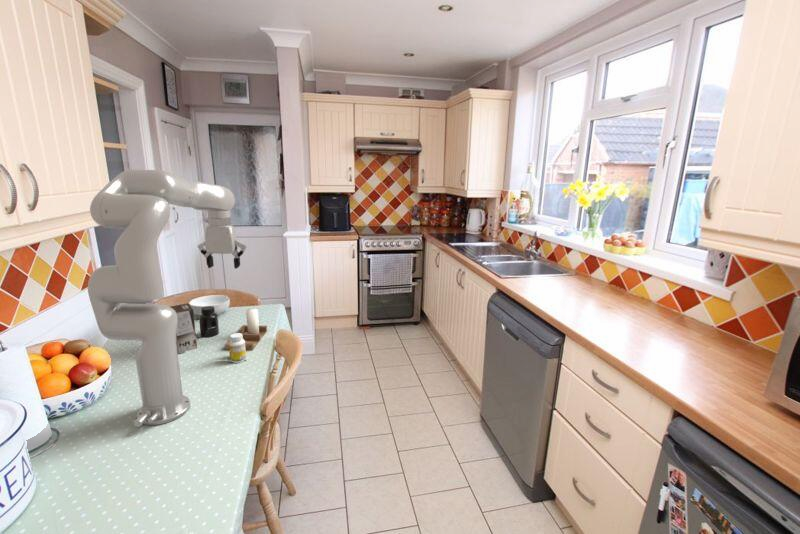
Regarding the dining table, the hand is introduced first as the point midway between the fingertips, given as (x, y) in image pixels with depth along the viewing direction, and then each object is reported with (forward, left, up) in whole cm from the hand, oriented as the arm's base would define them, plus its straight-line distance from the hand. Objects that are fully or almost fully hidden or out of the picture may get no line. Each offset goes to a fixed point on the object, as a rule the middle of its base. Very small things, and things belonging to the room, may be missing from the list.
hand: (223, 267), depth 141 cm
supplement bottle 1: (+5, +10, -31) cm, 33 cm away
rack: (0, -7, -31) cm, 31 cm away
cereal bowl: (+28, +20, -31) cm, 47 cm away
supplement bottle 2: (-15, -9, -31) cm, 35 cm away
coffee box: (-6, +14, -31) cm, 34 cm away
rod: (+5, -8, -30) cm, 31 cm away
